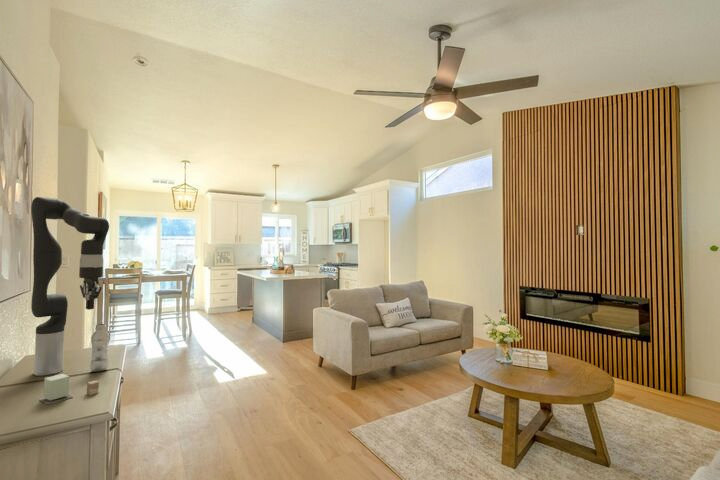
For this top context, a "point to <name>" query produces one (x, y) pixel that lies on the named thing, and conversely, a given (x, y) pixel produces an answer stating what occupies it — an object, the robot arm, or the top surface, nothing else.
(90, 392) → the maple post
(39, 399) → the walnut post
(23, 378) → the top surface
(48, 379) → the pale green eraser block
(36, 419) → the top surface
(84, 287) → the robot arm
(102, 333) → the plastic bottle
